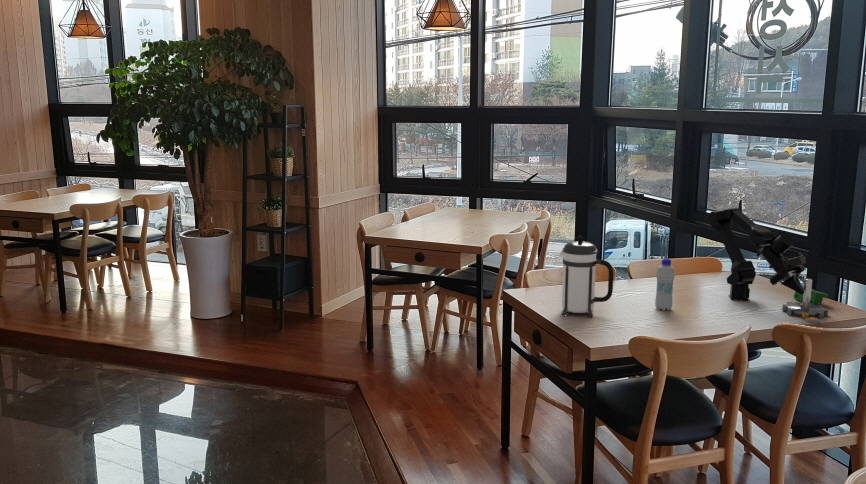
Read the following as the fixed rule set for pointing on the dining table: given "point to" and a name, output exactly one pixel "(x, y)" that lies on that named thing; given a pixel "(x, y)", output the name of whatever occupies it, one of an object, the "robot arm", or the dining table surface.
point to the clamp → (815, 296)
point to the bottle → (664, 285)
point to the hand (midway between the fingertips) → (802, 293)
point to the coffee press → (581, 277)
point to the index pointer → (812, 320)
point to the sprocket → (805, 305)
